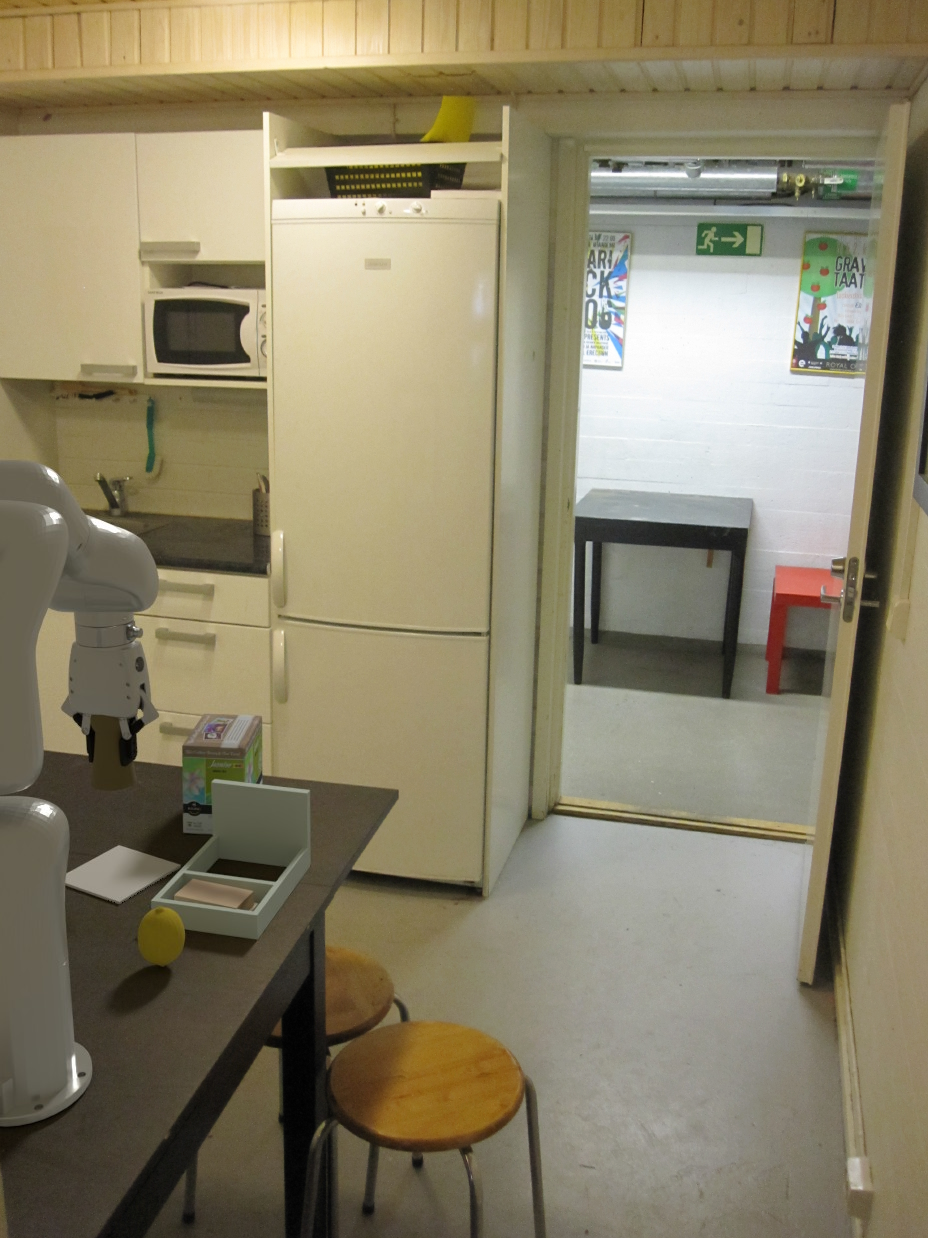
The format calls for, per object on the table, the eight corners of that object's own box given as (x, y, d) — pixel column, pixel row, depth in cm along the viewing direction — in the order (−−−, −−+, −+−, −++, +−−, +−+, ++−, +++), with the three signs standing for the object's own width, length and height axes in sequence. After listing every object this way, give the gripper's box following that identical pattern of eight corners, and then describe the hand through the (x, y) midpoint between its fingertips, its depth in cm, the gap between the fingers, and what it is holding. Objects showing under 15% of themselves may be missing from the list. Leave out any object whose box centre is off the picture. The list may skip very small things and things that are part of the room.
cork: (81, 787, 147) (76, 711, 144) (108, 770, 153) (103, 697, 150) (120, 793, 145) (115, 717, 142) (145, 776, 151) (141, 702, 148)
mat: (119, 904, 145) (119, 902, 145) (55, 882, 150) (55, 879, 150) (180, 867, 155) (180, 865, 155) (118, 847, 160) (118, 845, 160)
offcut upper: (236, 922, 138) (236, 908, 138) (174, 908, 141) (173, 895, 141) (254, 904, 143) (253, 891, 142) (193, 892, 145) (193, 878, 145)
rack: (257, 940, 138) (255, 854, 134) (152, 924, 140) (148, 841, 137) (310, 866, 157) (310, 790, 154) (217, 853, 160) (214, 779, 156)
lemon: (137, 957, 133) (134, 899, 131) (183, 950, 135) (180, 892, 133) (141, 982, 128) (137, 922, 126) (188, 974, 130) (186, 915, 128)
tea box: (247, 837, 165) (245, 747, 161) (181, 835, 165) (178, 745, 161) (264, 796, 180) (262, 712, 176) (204, 794, 180) (201, 711, 176)
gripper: (176, 631, 145) (181, 757, 150) (63, 621, 148) (72, 745, 153) (149, 646, 138) (156, 778, 143) (32, 635, 141) (42, 764, 146)
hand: (112, 759), depth 148 cm, fingers closed on cork, 4 cm apart
